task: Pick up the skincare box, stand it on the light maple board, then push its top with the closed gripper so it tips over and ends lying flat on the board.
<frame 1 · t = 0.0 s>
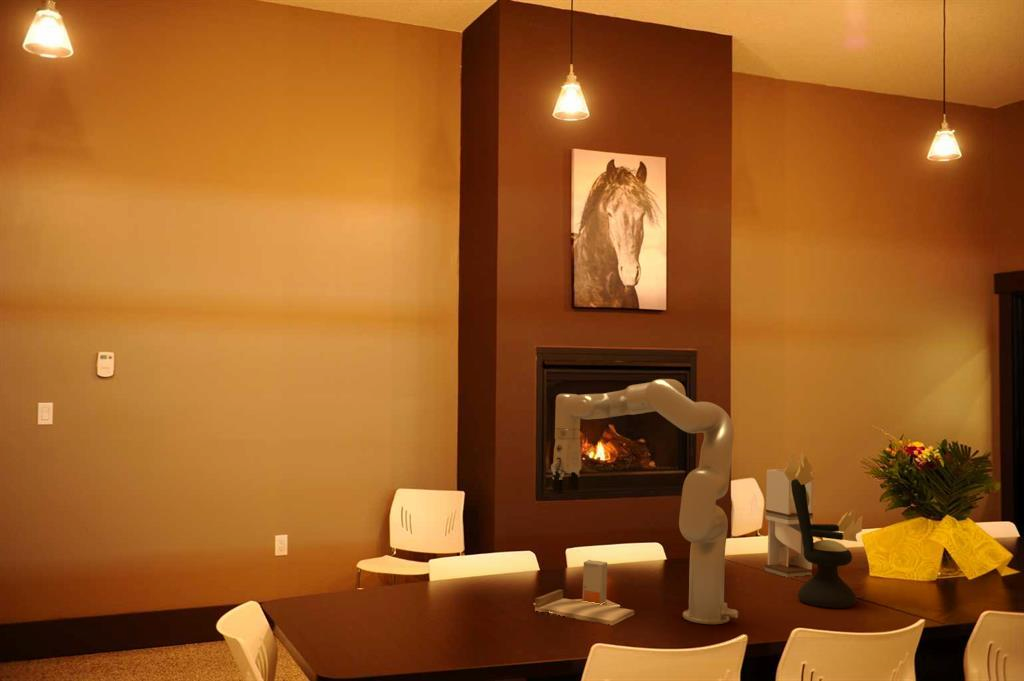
hand: (565, 491, 292), 31 cm above the table, tool pointing down, fingers open, 9 cm apart
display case: (788, 573, 332), on the table
skincare box: (594, 603, 282), on the table
board: (584, 613, 270), on the table
black chair: (819, 603, 290), on the table
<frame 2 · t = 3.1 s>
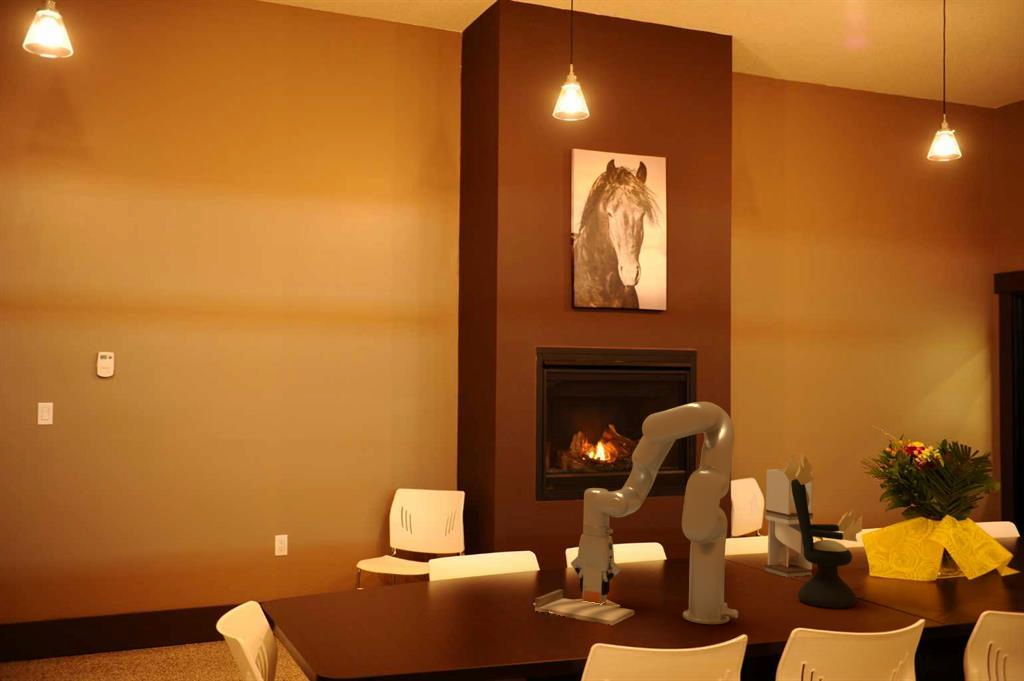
hand: (594, 592, 282), 3 cm above the table, tool pointing down, fingers closed on skincare box, 6 cm apart
skincare box: (594, 603, 282), on the table, touching gripper
everything else where it was.
when the fingers open (5 cm above the table, at t = 8.2 s): skincare box stays where it is, resting on board.
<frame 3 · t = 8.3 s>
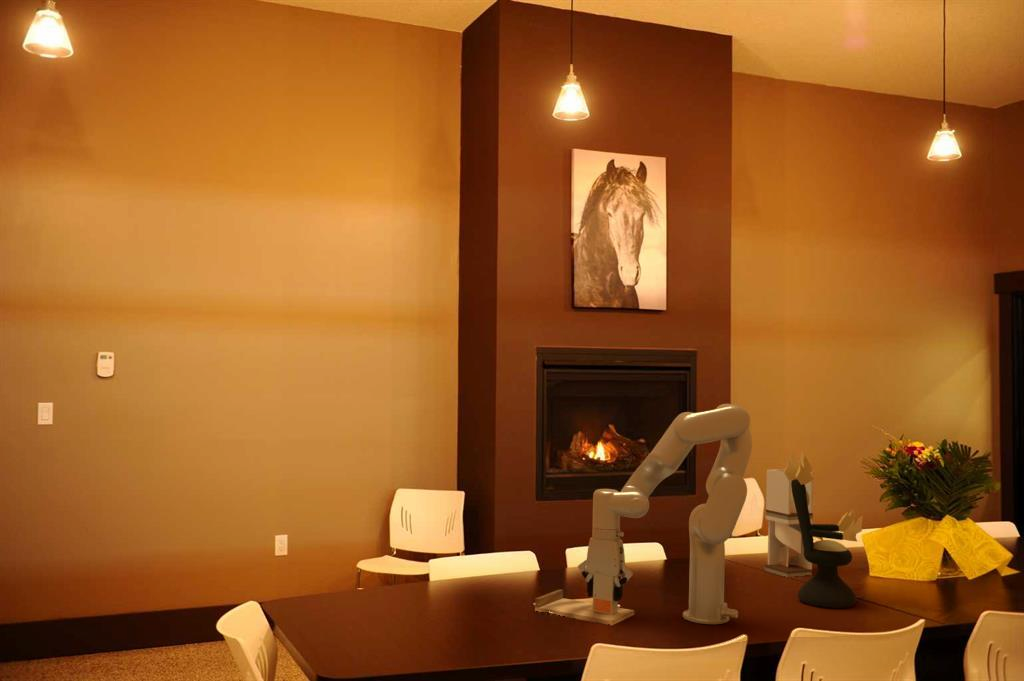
hand: (604, 597, 267), 5 cm above the table, tool pointing down, fingers open, 7 cm apart
skincare box: (605, 612, 267), point 1 cm above the table, touching board
everything else where it was.
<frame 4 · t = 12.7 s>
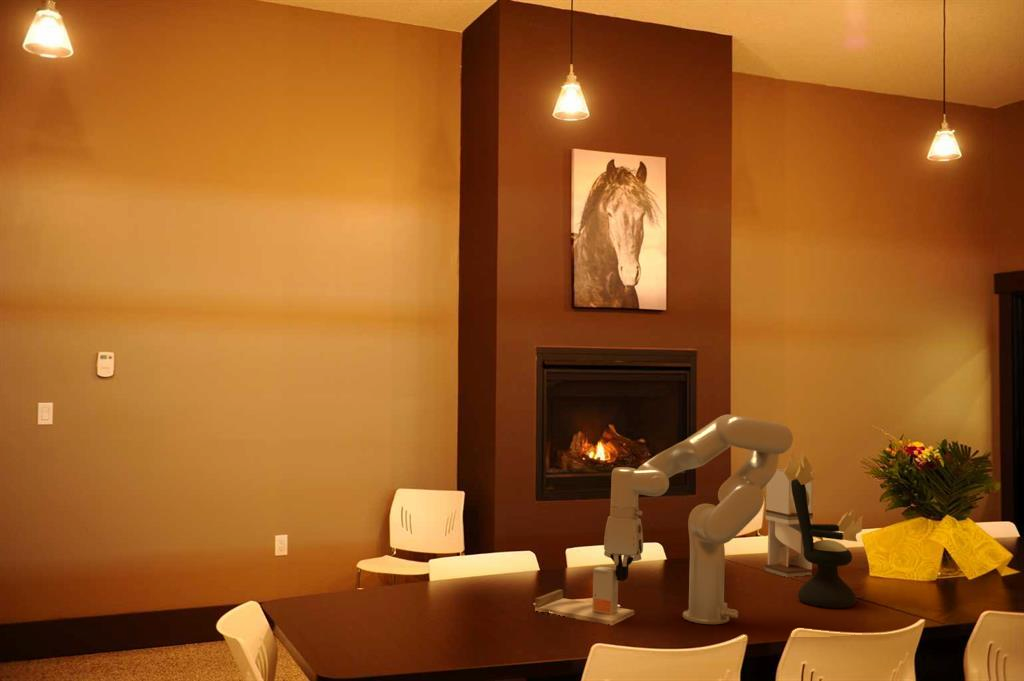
hand: (621, 579, 264), 11 cm above the table, tool pointing down, fingers closed
skincare box: (605, 612, 267), point 1 cm above the table, touching board, gripper
everything else where it was.
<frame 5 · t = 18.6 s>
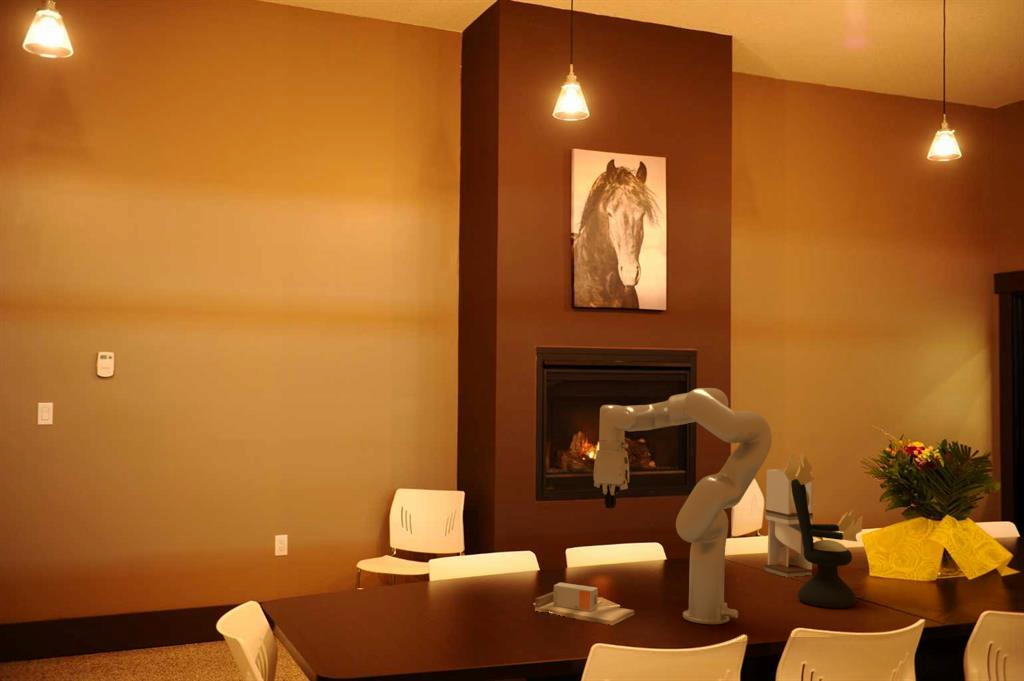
hand: (610, 507, 288), 27 cm above the table, tool pointing down, fingers closed
skincare box: (595, 599, 268), point 4 cm above the table, touching board
everything else where it was.
at the end: skincare box tilted 91°; skincare box inside the target area on the board (3.5 cm from its centre), point 4.3 cm above the board's base; the gripper is holding nothing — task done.
